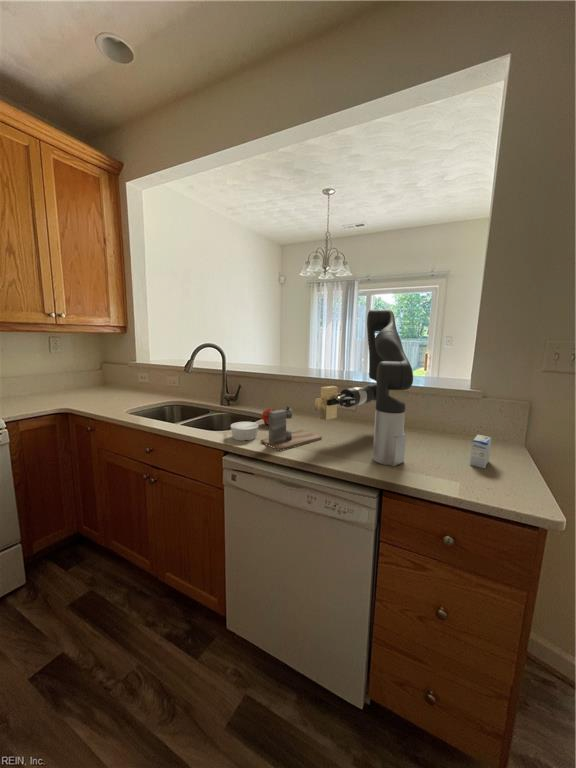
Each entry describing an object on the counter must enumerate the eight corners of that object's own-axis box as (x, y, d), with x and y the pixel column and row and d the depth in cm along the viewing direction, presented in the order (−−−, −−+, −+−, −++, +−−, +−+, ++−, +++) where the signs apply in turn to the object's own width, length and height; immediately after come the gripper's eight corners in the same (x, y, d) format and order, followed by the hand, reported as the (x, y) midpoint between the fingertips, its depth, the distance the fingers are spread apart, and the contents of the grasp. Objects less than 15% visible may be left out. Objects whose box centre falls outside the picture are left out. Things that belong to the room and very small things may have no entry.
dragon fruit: (263, 425, 152) (281, 434, 144) (253, 418, 146) (272, 427, 138) (272, 410, 154) (290, 418, 146) (263, 402, 148) (281, 410, 140)
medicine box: (474, 458, 110) (476, 434, 109) (489, 461, 107) (492, 436, 106) (469, 465, 104) (472, 439, 103) (485, 468, 101) (488, 442, 100)
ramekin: (253, 443, 122) (253, 430, 121) (226, 441, 124) (226, 428, 124) (261, 434, 133) (261, 422, 132) (236, 432, 135) (236, 420, 134)
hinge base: (321, 439, 128) (322, 404, 126) (280, 451, 114) (280, 412, 112) (301, 432, 137) (301, 399, 135) (260, 442, 123) (260, 406, 121)
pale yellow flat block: (336, 417, 122) (337, 386, 120) (319, 421, 116) (320, 389, 114) (330, 416, 124) (331, 385, 123) (313, 420, 118) (313, 388, 116)
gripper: (340, 385, 135) (311, 389, 123) (368, 390, 124) (339, 394, 113) (339, 403, 136) (311, 408, 124) (367, 408, 125) (338, 415, 114)
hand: (324, 402), depth 119 cm, fingers closed on pale yellow flat block, 3 cm apart
